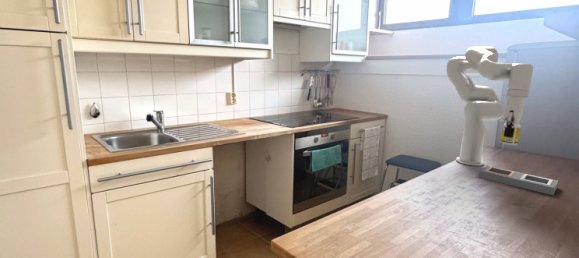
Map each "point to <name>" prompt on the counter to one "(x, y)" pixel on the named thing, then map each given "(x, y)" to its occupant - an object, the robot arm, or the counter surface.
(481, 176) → the socket stand
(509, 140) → the pill bottle
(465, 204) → the counter surface
